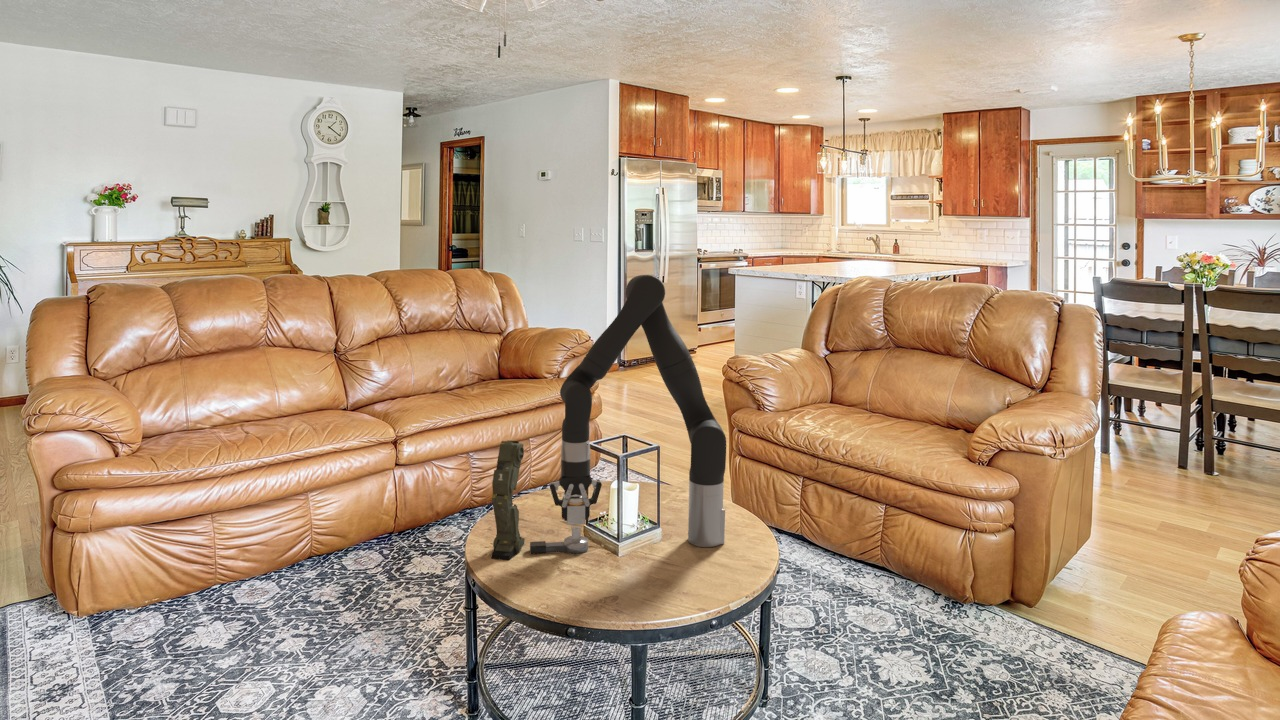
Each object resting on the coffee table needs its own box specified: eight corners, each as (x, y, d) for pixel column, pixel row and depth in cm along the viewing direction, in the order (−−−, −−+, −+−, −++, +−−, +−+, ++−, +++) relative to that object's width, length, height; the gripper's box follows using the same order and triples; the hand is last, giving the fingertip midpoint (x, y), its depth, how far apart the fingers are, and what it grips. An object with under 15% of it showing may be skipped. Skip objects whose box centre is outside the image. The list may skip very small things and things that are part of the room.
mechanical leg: (508, 563, 188) (516, 442, 190) (480, 560, 189) (489, 440, 191) (526, 553, 201) (534, 441, 204) (501, 551, 203) (508, 439, 205)
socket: (583, 517, 200) (583, 492, 199) (585, 524, 196) (585, 499, 195) (565, 518, 200) (565, 493, 198) (567, 524, 195) (567, 499, 194)
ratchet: (587, 543, 202) (587, 522, 201) (589, 553, 196) (589, 531, 195) (529, 547, 200) (529, 525, 199) (530, 557, 194) (530, 535, 193)
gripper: (601, 451, 200) (600, 513, 202) (547, 453, 197) (547, 515, 200) (604, 459, 192) (604, 523, 195) (548, 461, 190) (548, 526, 193)
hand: (575, 519), depth 198 cm, fingers closed on socket, 4 cm apart
